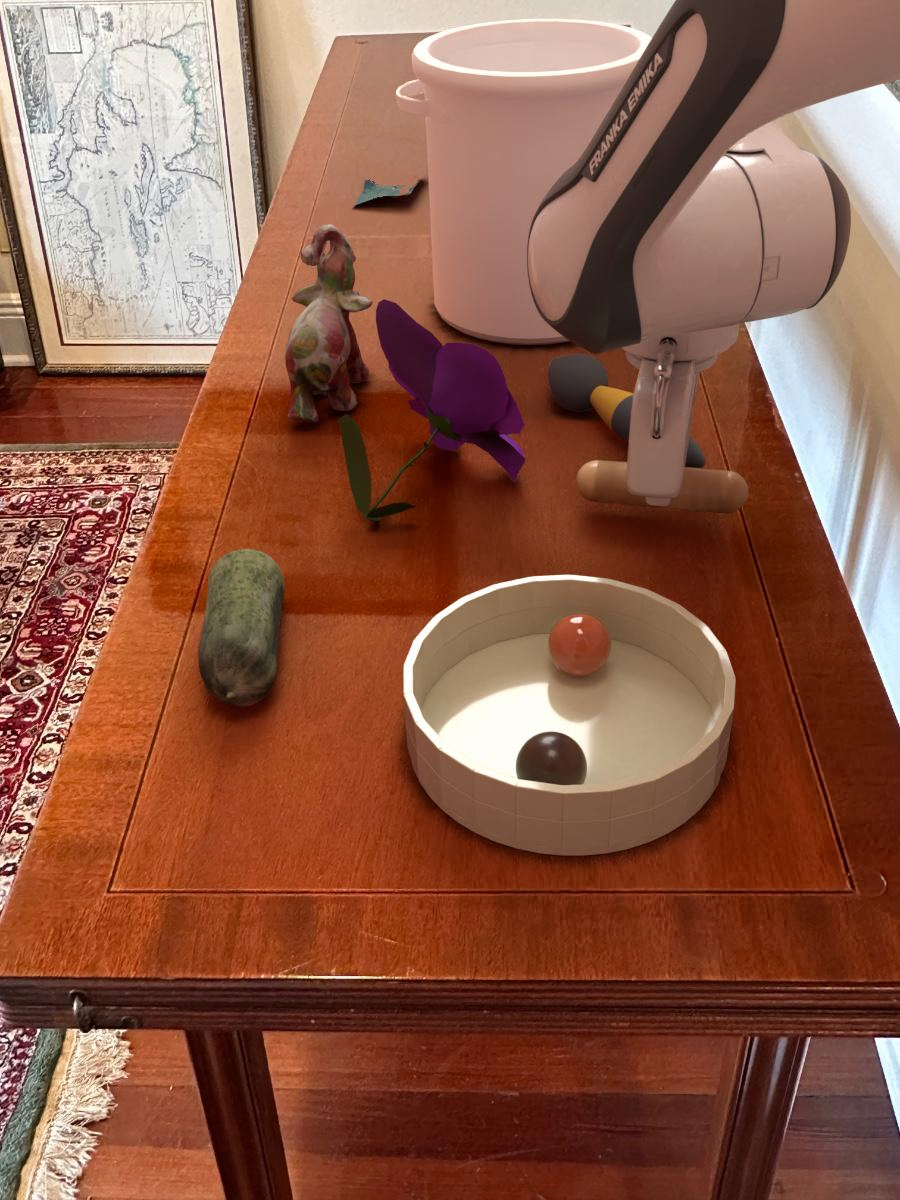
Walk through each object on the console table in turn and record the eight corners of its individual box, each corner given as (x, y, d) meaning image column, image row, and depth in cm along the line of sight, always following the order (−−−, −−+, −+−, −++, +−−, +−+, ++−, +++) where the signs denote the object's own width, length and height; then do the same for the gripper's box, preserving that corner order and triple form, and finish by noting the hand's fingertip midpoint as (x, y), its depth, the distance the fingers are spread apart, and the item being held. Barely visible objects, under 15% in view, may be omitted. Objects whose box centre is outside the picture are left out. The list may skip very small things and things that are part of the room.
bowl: (733, 653, 78) (741, 592, 75) (716, 881, 63) (726, 817, 60) (448, 620, 82) (445, 560, 79) (370, 827, 67) (363, 764, 64)
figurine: (398, 383, 110) (386, 223, 101) (317, 438, 103) (296, 271, 94) (333, 364, 114) (316, 208, 105) (250, 416, 106) (224, 253, 97)
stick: (746, 500, 90) (751, 464, 88) (745, 523, 88) (749, 487, 86) (578, 486, 93) (579, 450, 91) (572, 508, 91) (573, 472, 89)
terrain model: (412, 208, 147) (410, 192, 146) (351, 209, 149) (349, 194, 148) (432, 175, 157) (431, 160, 156) (375, 176, 159) (373, 162, 158)
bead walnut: (590, 772, 69) (592, 721, 67) (580, 823, 66) (582, 772, 64) (522, 762, 70) (522, 712, 68) (509, 812, 67) (509, 762, 65)
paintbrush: (732, 461, 97) (738, 406, 94) (691, 483, 95) (697, 428, 92) (561, 382, 110) (561, 331, 106) (521, 400, 107) (521, 348, 104)
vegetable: (216, 595, 85) (205, 537, 82) (289, 590, 85) (281, 532, 82) (196, 729, 74) (183, 668, 71) (280, 723, 74) (270, 662, 71)
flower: (466, 600, 92) (567, 468, 95) (389, 490, 80) (507, 344, 83) (340, 530, 100) (436, 411, 103) (253, 422, 88) (364, 291, 91)
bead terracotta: (613, 652, 78) (616, 603, 75) (605, 693, 75) (608, 643, 72) (552, 645, 78) (553, 597, 76) (542, 685, 75) (543, 635, 73)
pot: (398, 355, 115) (379, 79, 100) (418, 266, 133) (404, 20, 118) (666, 353, 113) (688, 72, 98) (650, 263, 131) (666, 13, 116)
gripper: (712, 383, 73) (693, 568, 81) (729, 257, 88) (712, 423, 97) (608, 376, 74) (601, 559, 82) (643, 254, 90) (634, 417, 98)
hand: (661, 484), depth 90 cm, fingers closed on stick, 3 cm apart
